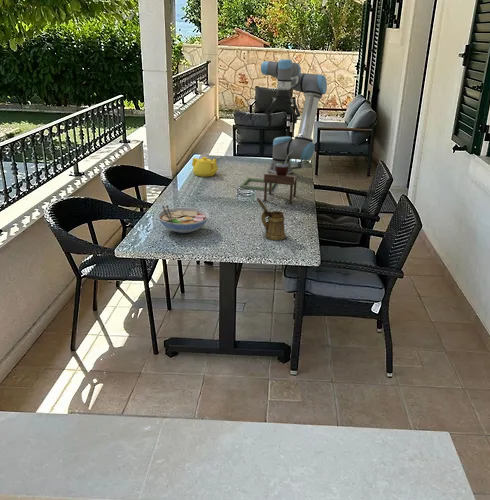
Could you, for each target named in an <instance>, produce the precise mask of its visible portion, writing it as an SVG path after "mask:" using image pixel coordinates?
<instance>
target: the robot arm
mask: <svg viewBox="0 0 490 500" xmlns="http://www.w3.org/2000/svg"><path fill="white" fill-rule="evenodd" d="M260 72H261V74H262V75H265V76H271V78H274V79H276V80H277V81H276V83H277V84H276V97H270V101H269V103H268V105H267V106H266V109H265V111H264V115H266V117H267V122H268V128H270V129H271V128H272V119H273V117H272V115H271V114H272V113H273V112H274V111H275V110H276V109H277V108H279V107H283V108H286V107H287V109H288V110H289V112H290V113H291V114H292V116H293V117H292V130H296V129H295V127H296V124H297V123H298V118H299V117H300V122H299V127H298V133H297V134H296V135H295V136H294V139H292V137H291V136H278V137H275V138H274V139H273V140H272V141H273V142H272V158H271V162H270V166H269V169H268V174H269V173H276V170H275V167H276V164H277V163H278V162H285V161H286V159H287V156H288V154H289V153H290V152H291V151H293V152H291V153H290V154H289V156H288V159H287V161H286V163H287V164H288V172H287V174H289V175H293V169H299V168H301V167H302V165H301V164H302V163H307V164H309V163H310V160H311V158H312V157H313V155H314V153H315V149H316V148H315V147H316V145H315V143H314V139H313V138H312V137H313V136H312V135H313V130H314V125H315V120H316V115H317V112H318V106H319V101H320V100H321V99H322V98H323V96H324V95H326V93H327V89H328V80H327V78H326V76H325V75H323V74H319V73H308V72H307V73H306V72H302V68H301V66H300V64H299V63H298V62H293V59H287V58H285V59H284V58H280V59H279V60H278V61H273V60H272V61H271V60H264V61H262V62H261V65H260ZM291 90H293V91H296V92H299V93H303V96H304V97H305V98H304V103H303V108H302V113H301V111H300V110H299V108H298V107H299V106H298V105H297V99H296V98H291V92H292V91H291ZM274 102H276V104H275V105H274V106H273V107H272V105H273V103H274ZM290 103H292V105H293V107H294V109H293V107H292V106H291V104H290ZM271 107H272V108H271ZM291 159H292V160H300V161H299V162H297V165H298V166H292V163H291Z"/></svg>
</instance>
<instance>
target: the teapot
mask: <svg viewBox="0 0 490 500" xmlns="http://www.w3.org/2000/svg"><path fill="white" fill-rule="evenodd" d="M217 161H218V160H217V158H213V159H211V158H208V156H202V157H201V158H197V157H193V158H192V162H191V166H192V167H193V169H192V173H194V175H195V176H197V177H202V178H209V177H214V175H216V173H217V171H218V170H219V168H218V164H217Z"/></svg>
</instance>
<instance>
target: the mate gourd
mask: <svg viewBox="0 0 490 500" xmlns="http://www.w3.org/2000/svg"><path fill="white" fill-rule="evenodd" d="M291 152H293V151H291ZM291 152H290V153H291ZM290 153H289V154H290ZM289 154H288V156H289ZM288 156H287V159H288ZM287 159H286V161H287ZM286 161H285V162H278V163H277V164H276V167H275V170H276V173H277V175H282V176H286V174H287V172H288V164H287V163H286Z"/></svg>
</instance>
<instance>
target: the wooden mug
mask: <svg viewBox="0 0 490 500" xmlns="http://www.w3.org/2000/svg"><path fill="white" fill-rule="evenodd" d="M256 200H257V203H258V204H259V206H260V207H261V209H262V210H263V212H262V213H261V215H260V220H261V222H262V224H263V226H264V228H265V233H264V236H265V238H266V239H268V240H271V241H281V240H284V239H285V238H286V232H285V231H286V230H285V216H284V212H283V211H279V210H274V211H273V210H272V211H271V210H268V209H267V206H266V205H265V204H264V202H263V201H262V199H260V198H258V197H257V198H256ZM266 218H267V221H266Z"/></svg>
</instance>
